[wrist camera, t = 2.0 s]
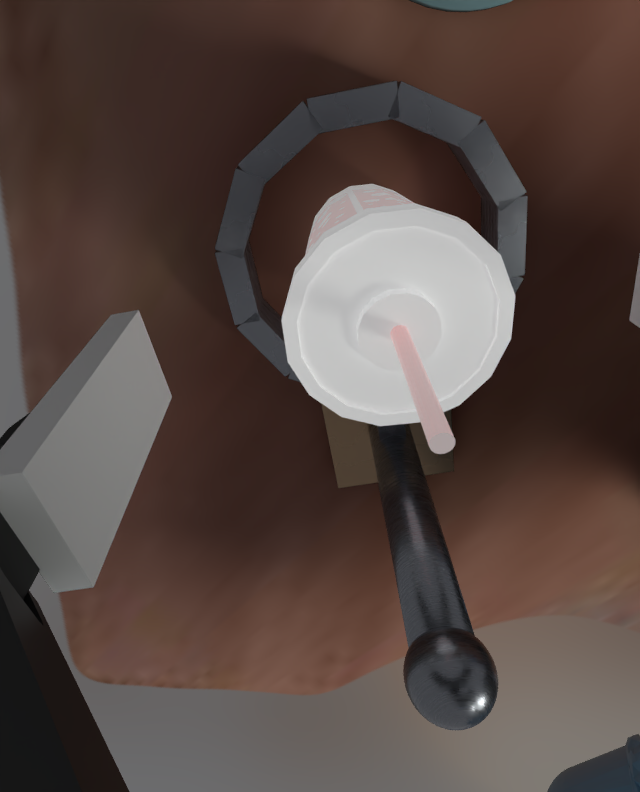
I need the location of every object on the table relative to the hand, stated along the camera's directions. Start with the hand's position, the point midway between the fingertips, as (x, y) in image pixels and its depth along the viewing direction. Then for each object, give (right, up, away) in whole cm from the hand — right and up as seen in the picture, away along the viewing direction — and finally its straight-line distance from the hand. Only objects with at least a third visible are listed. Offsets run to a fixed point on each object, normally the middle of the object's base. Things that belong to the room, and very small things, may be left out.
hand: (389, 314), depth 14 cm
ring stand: (+1, +1, +9) cm, 9 cm away
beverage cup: (0, +4, +8) cm, 9 cm away
